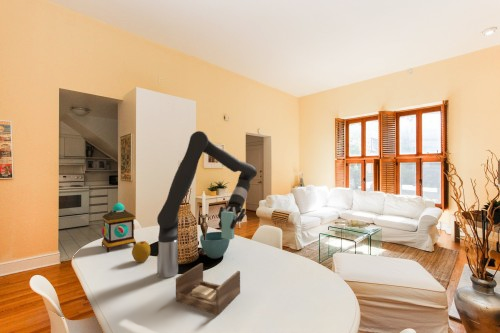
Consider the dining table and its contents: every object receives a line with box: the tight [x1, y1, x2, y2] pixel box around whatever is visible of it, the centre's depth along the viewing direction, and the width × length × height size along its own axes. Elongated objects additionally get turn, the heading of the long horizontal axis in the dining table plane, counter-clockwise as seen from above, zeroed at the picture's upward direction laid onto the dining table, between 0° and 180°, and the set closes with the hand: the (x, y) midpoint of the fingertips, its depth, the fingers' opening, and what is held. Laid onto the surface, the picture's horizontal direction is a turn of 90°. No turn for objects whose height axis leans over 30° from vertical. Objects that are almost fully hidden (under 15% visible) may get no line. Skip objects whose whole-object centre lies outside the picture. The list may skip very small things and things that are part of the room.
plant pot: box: [199, 231, 231, 259], centre depth 142 cm, size 18×18×12 cm
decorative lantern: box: [101, 202, 137, 253], centre depth 162 cm, size 20×20×30 cm
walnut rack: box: [175, 262, 241, 316], centre depth 95 cm, size 20×16×10 cm
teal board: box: [220, 210, 235, 240], centre depth 108 cm, size 6×2×12 cm, turn 64°
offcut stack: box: [192, 285, 216, 303], centre depth 91 cm, size 9×5×4 cm, turn 64°
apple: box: [131, 240, 151, 263], centre depth 135 cm, size 10×10×12 cm
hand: (225, 227), depth 107 cm, fingers closed on teal board, 5 cm apart
